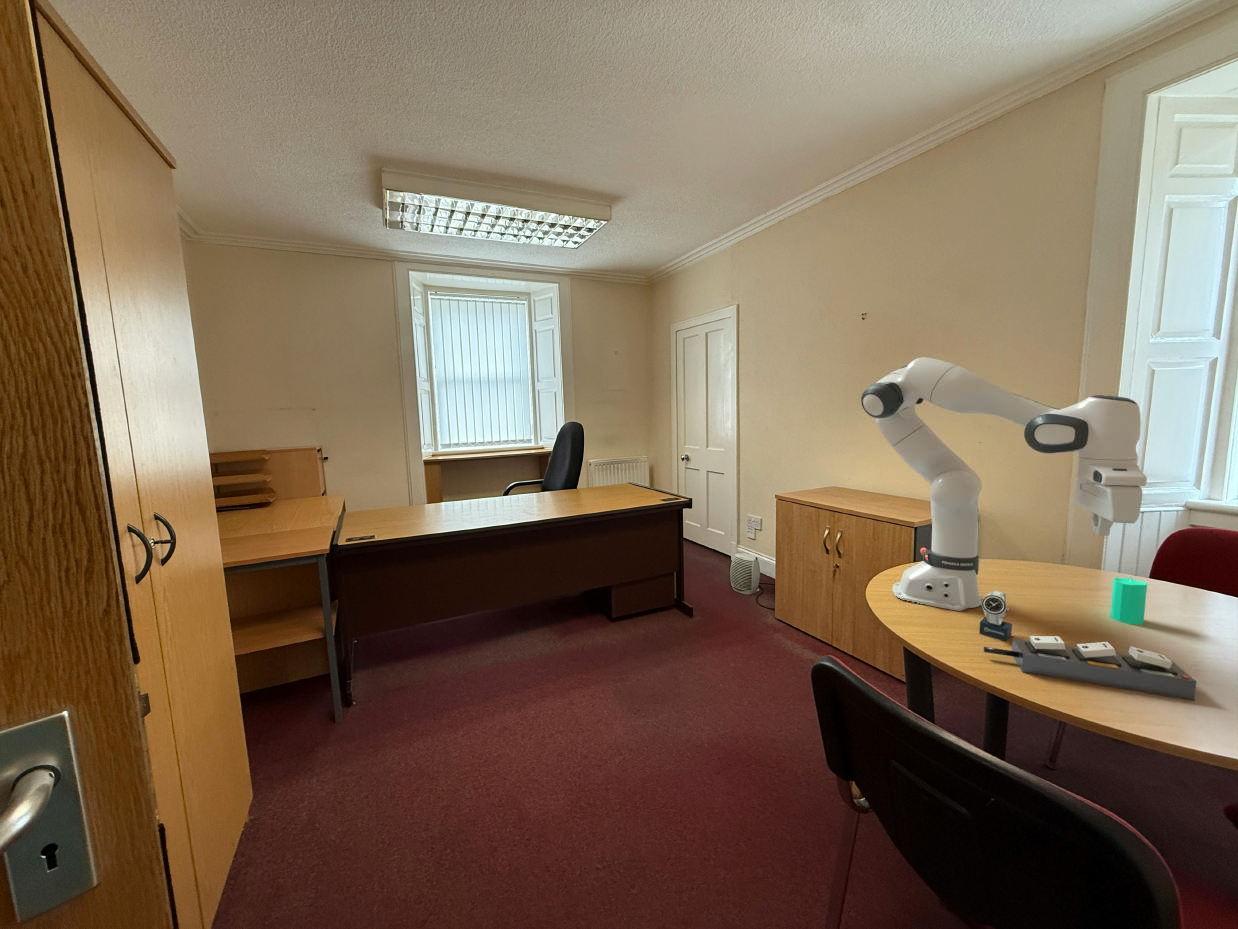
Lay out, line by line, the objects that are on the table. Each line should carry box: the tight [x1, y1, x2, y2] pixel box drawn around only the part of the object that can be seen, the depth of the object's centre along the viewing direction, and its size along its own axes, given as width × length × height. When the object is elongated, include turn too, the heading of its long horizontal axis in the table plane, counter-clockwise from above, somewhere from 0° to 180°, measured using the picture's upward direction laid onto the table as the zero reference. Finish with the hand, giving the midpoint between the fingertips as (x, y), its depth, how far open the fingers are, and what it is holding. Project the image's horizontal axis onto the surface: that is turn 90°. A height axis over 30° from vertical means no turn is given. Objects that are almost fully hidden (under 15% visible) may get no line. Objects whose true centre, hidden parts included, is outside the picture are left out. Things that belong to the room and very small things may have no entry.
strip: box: [983, 637, 1197, 702], centre depth 102 cm, size 32×8×4 cm, turn 63°
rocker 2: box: [1076, 641, 1117, 658], centre depth 100 cm, size 5×3×2 cm, turn 63°
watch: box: [978, 590, 1013, 642], centre depth 119 cm, size 6×8×11 cm
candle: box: [1109, 574, 1148, 626], centre depth 124 cm, size 6×6×12 cm
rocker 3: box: [1128, 645, 1172, 669], centre depth 97 cm, size 5×3×2 cm, turn 63°
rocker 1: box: [1029, 635, 1066, 649], centre depth 104 cm, size 5×3×2 cm, turn 63°
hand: (1100, 534), depth 104 cm, fingers closed
